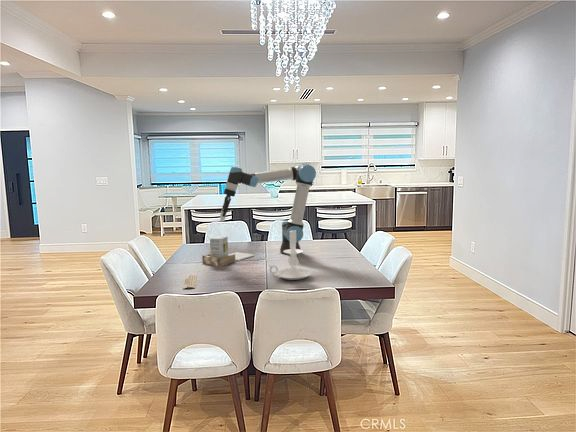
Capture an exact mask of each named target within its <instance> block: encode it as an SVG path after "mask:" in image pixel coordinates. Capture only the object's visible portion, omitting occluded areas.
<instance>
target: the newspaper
mask: <svg viewBox="0 0 576 432" xmlns="http://www.w3.org/2000/svg"><path fill="white" fill-rule="evenodd" d="M197 277H198V276H197V275H196V274H189V275H187V276H185V279H184V280H185V281H184V284H183V288H182V289H183V290H185V289H186V288H193V289H196V283H197Z"/></svg>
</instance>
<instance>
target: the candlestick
mask: <svg viewBox="0 0 576 432" xmlns="http://www.w3.org/2000/svg"><path fill="white" fill-rule="evenodd" d="M290 248H291V249H288V250H284V251H283V252H284V253H288V254H287V255H289V259H288V261H287V263H288V265H289V266H290V267H287V268H282V269H279V268H278V266H277V265H268V267H269V272H270V273H271V274H272V276H273V277H274V278H282V279H284V280H288V281H289V280H290V281H298V280H299V281H300V280H302V279H305V278H307V277H309V276H311V275H312V274H313V273H312V271H311V270H309V269H307V268H302V267H297V266H299V265H298V264H299V258H298V257H297V256H298V255H299V254H301V253H303V252H304V250H303V249H301V250H300V249H296V230H295V231H290ZM273 268H275V269H276V270H275V271H274V272H273V271H272V270H273Z"/></svg>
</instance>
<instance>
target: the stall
mask: <svg viewBox="0 0 576 432" xmlns="http://www.w3.org/2000/svg"><path fill="white" fill-rule="evenodd" d="M231 254H232V253H231ZM201 258H202V260H201V261H202V264H205V265H211V266H216V267H221V266H224V265H225V266H226V265H228V264H231V263H234V262H236V261H235V254H232V255H228V256H225V257H221V258H216V257H211V255H210V253H207V254H203V255H202V257H201Z"/></svg>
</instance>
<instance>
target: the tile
mask: <svg viewBox="0 0 576 432" xmlns="http://www.w3.org/2000/svg"><path fill="white" fill-rule="evenodd" d="M232 254H235V262H239V261H242V260H246V259H250V258H252V257H255V254H252V253H251V254H250V253H245V252H237V251H236V252H233V253H228V255H232Z"/></svg>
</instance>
